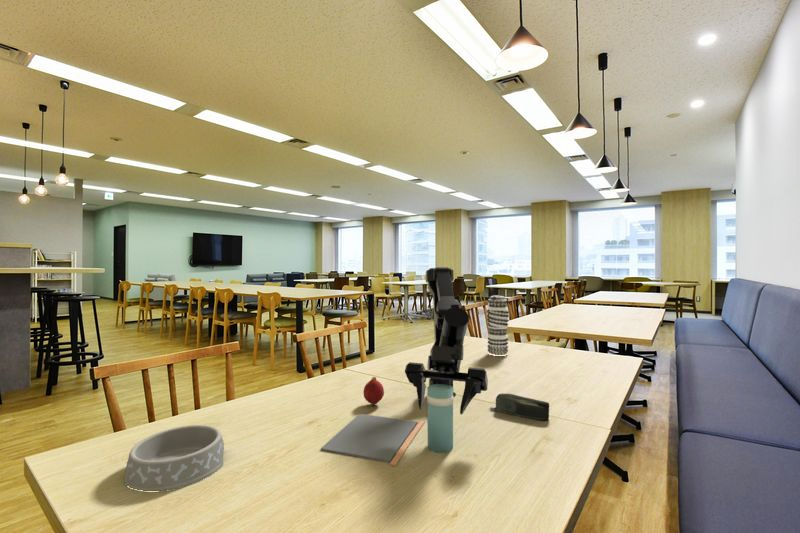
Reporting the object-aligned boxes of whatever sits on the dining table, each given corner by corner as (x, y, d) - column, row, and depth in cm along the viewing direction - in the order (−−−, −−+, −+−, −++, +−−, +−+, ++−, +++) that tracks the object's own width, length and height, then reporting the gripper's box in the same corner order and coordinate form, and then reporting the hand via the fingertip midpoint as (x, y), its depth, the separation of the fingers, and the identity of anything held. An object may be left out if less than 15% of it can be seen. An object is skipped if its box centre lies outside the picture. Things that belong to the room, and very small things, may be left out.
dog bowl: (115, 504, 68) (114, 473, 68) (137, 455, 85) (137, 430, 85) (224, 481, 75) (223, 453, 75) (224, 440, 92) (224, 417, 91)
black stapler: (550, 400, 102) (492, 389, 109) (548, 404, 100) (489, 393, 107) (549, 419, 102) (492, 407, 110) (547, 423, 100) (489, 411, 107)
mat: (417, 423, 99) (417, 421, 99) (389, 462, 81) (389, 460, 81) (359, 415, 105) (359, 413, 105) (320, 450, 86) (320, 448, 86)
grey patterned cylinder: (487, 356, 165) (487, 297, 165) (486, 351, 174) (486, 294, 174) (509, 357, 164) (510, 297, 163) (507, 352, 173) (507, 295, 172)
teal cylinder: (445, 438, 91) (444, 382, 91) (458, 449, 86) (458, 390, 85) (422, 443, 89) (422, 386, 88) (435, 454, 84) (434, 394, 83)
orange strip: (420, 421, 100) (420, 420, 100) (424, 422, 100) (424, 421, 100) (389, 465, 79) (389, 463, 79) (395, 466, 79) (395, 464, 79)
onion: (381, 409, 108) (380, 380, 108) (361, 408, 110) (360, 379, 109) (386, 402, 114) (385, 374, 114) (366, 400, 115) (366, 373, 115)
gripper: (406, 328, 94) (391, 389, 84) (486, 333, 88) (479, 398, 78) (416, 354, 102) (403, 412, 92) (490, 359, 96) (484, 422, 86)
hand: (440, 411), depth 87 cm, fingers open, 9 cm apart
